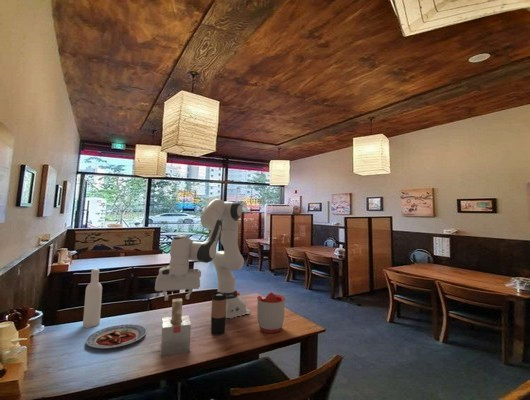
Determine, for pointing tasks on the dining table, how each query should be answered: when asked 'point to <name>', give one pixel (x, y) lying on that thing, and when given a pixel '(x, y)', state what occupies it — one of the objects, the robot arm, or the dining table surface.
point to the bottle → (92, 301)
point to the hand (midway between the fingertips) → (177, 299)
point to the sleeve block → (175, 336)
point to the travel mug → (218, 313)
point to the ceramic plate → (116, 336)
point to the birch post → (176, 310)
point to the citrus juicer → (270, 312)
